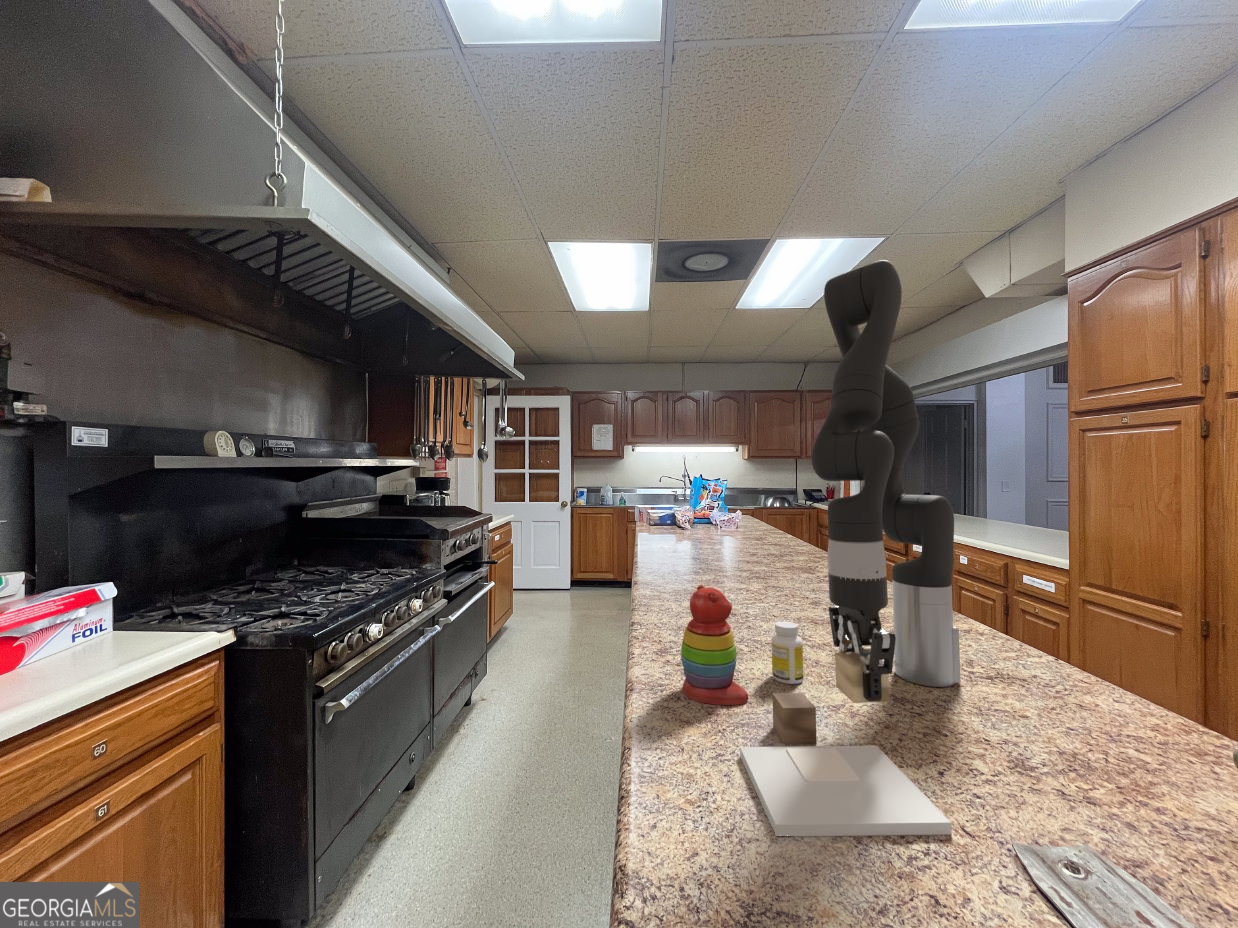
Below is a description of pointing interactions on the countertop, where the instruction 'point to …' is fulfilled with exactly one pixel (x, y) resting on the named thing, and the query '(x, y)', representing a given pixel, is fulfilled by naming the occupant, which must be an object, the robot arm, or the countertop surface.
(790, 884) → the countertop surface
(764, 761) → the build board
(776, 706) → the walnut block
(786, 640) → the supplement bottle
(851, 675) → the oak block
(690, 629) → the stacking bear
